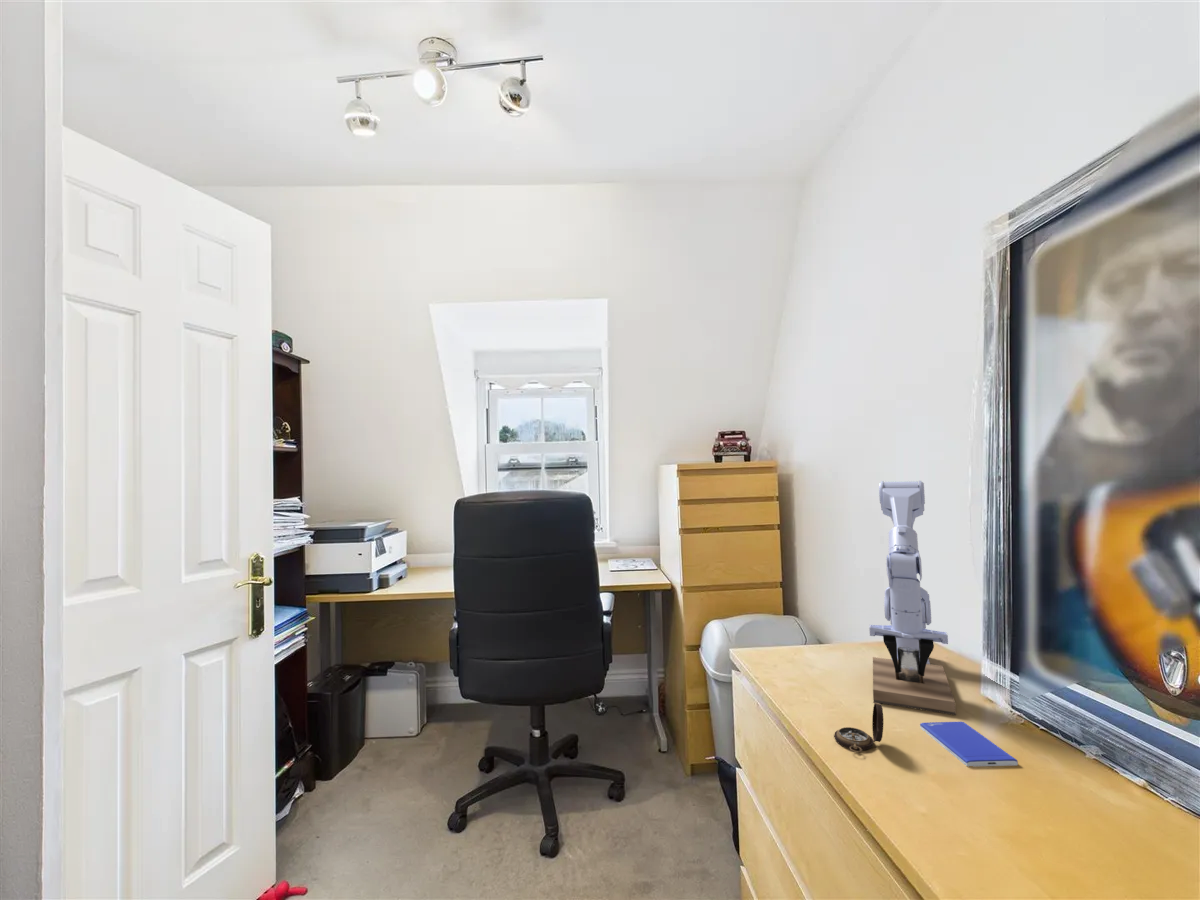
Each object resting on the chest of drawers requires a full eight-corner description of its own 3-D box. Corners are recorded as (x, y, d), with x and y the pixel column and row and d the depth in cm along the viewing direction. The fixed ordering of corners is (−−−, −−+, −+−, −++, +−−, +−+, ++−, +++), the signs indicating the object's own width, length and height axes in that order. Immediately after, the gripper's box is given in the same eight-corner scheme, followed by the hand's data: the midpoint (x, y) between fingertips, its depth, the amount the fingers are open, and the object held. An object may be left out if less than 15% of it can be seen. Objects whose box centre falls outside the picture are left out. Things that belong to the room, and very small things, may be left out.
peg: (898, 677, 115) (896, 645, 115) (919, 680, 113) (917, 647, 113) (899, 684, 111) (898, 651, 112) (921, 687, 110) (919, 654, 110)
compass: (833, 731, 96) (831, 691, 96) (881, 738, 93) (879, 696, 93) (835, 753, 88) (833, 710, 88) (888, 762, 85) (886, 717, 86)
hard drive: (919, 722, 96) (966, 760, 83) (964, 721, 96) (1017, 758, 83) (920, 731, 96) (967, 770, 83) (964, 729, 96) (1018, 768, 83)
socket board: (873, 667, 124) (872, 657, 124) (943, 676, 118) (942, 665, 118) (873, 702, 107) (873, 689, 107) (955, 715, 100) (955, 701, 100)
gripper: (868, 610, 113) (871, 674, 112) (948, 617, 106) (952, 685, 105) (868, 602, 119) (871, 662, 118) (944, 608, 112) (947, 672, 112)
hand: (909, 672), depth 112 cm, fingers closed on peg, 4 cm apart
